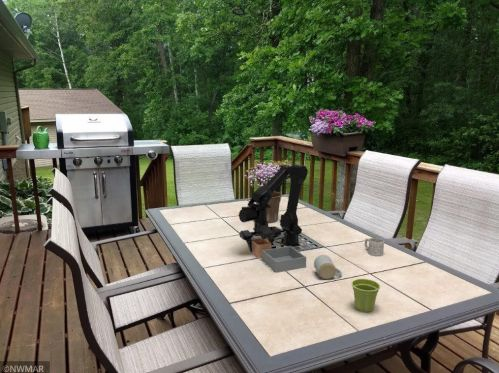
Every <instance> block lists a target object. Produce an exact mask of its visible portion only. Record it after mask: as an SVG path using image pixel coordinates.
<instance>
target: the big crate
mask: <svg viewBox="0 0 499 373" xmlns="http://www.w3.org/2000/svg"><path fill="white" fill-rule="evenodd" d="M261 261H262V262H263V263H264V264H265V265H266V266H268V267H269V268H270V269H271V270H272V271H273V272H274V273H276V274H277V273H283V272H289V271H294V270H299V269H300V270H301V269H306V268H307V256H306V255H304V254H302V252H300V251H298V250H297V249H296V248H294V246H287V245H286V246H281V247H276V248H271V249H268V250H262V257H261Z"/></svg>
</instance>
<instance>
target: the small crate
mask: <svg viewBox="0 0 499 373" xmlns="http://www.w3.org/2000/svg"><path fill="white" fill-rule="evenodd" d="M251 239H252V252H250V253H251V254H252V255H253V256H254V257H255V258H257V259H258V258H262V250H268V249H272V246H271V243H270V242H269V241H268V239H262V238H261V237H256V238H251Z"/></svg>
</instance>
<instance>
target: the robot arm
mask: <svg viewBox="0 0 499 373" xmlns="http://www.w3.org/2000/svg"><path fill="white" fill-rule="evenodd" d="M308 173H309V170H308V168H307V166H306V165H301V164H293V165H281V166H280V167H279V169H278V171H277V172H275V174H273V176H272V177H271V178H270V179H269V180H267V182H266V183H265V185H263V186H261V187H259V188H257V189H255V191H253V193H252V194H251V195H252V196H251V197H250V199H249V201H248V203H247V206H241V209H240V211H239V212H238V217H239V221H240V222H241V223H246V222H252V221H253V222H254V223H253V224H254V225H253V226H254V227H252V228H253V231H249V229H245V230H240V232H239V237H240V239H242V240H243V241H245V242H246V244H247V247H248V249H249V252H250V253H251V252H252V239H253V237H256V236H259V237H260V238H262V239H266V240H267V241H269V242H270V243H271V247H272V246H273V243H274V241H275V239H277V238H279V236H281V235H282V232H284V235H283V242H282V243H283V244H284V245H285V246H286V247H287V246H291V247H296V246H301V243H300V242H299V239H300V236H299V235H301V234H302V232H303V229H302V227H300V225H299V218H298V215H297V212H298V211H297V210H298V207H299V206H298V205H299V200H300V194H301V188H302V185H303V183H304V182H305V181H306V179H307V177H308ZM288 176H289V179H290V187H289V188H290V189H289V194H288V200H287V206H286V210H285V212H284V213H283V214H280V219H279V225H280V227H281V229H280V228H279V227H277V226H269V222H268V221H267V208H271V206H269V205H268V202H269V201H270V199H271V198H272V193H273V192H274V191H275V190H276V189H278V187H279V186H280V185H281V184H282V183H283V182H284V181H285V179H286V178H287V177H288ZM275 192H276V191H275ZM256 203H258V204H259V205H258V204H256Z"/></svg>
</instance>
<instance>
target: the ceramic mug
mask: <svg viewBox="0 0 499 373" xmlns="http://www.w3.org/2000/svg"><path fill="white" fill-rule="evenodd" d="M313 267H314V269H315V271H316V272H317V275H318V276H319V277H320V278H322V279H324V280H329V279H331V278H333V277H337V278H340V277H341V276H342V275H343V272H342V271H341V270H340V269H339V268H337V267H336V266H335V264H334V262H333V260H332V258H331V257H330V256H328V255H326V254H320V255H318V256H316V258H315V259H314V261H313Z"/></svg>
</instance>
